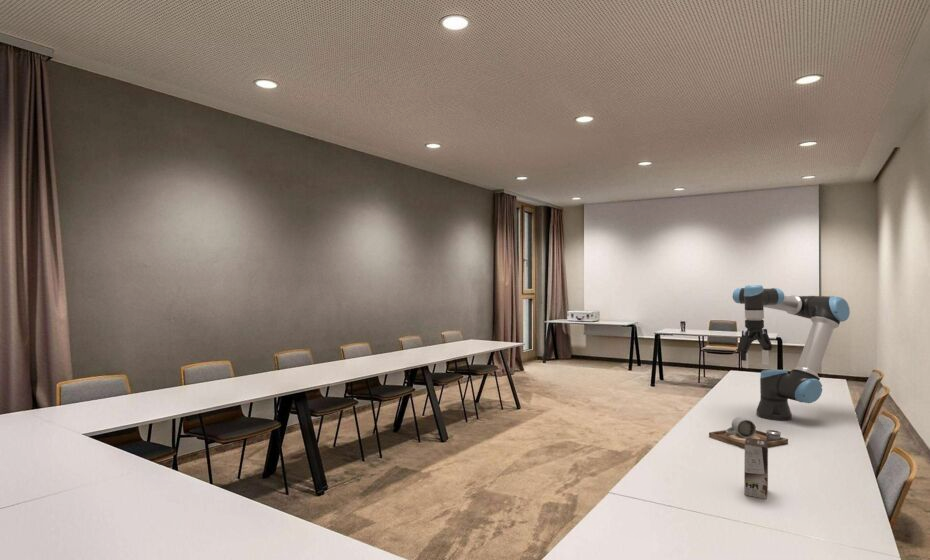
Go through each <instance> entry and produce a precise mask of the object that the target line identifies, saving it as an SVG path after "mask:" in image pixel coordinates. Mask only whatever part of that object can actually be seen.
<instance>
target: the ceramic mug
mask: <svg viewBox="0 0 930 560" xmlns="http://www.w3.org/2000/svg"><path fill="white" fill-rule="evenodd" d="M725 430H726V434H727V435H735V434H738V435H740V436H741V437H743V438H750V437H752V436H753V435H754V434H755V432H756V430H757V426H756V425H755V423H754V421H752V420H751V419H747V418H746V417H742V416H738V417H735V418H734V419H732V422H731V427H729V428H727V429H725ZM733 430H734V431H733ZM730 431H732V432H730Z"/></svg>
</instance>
